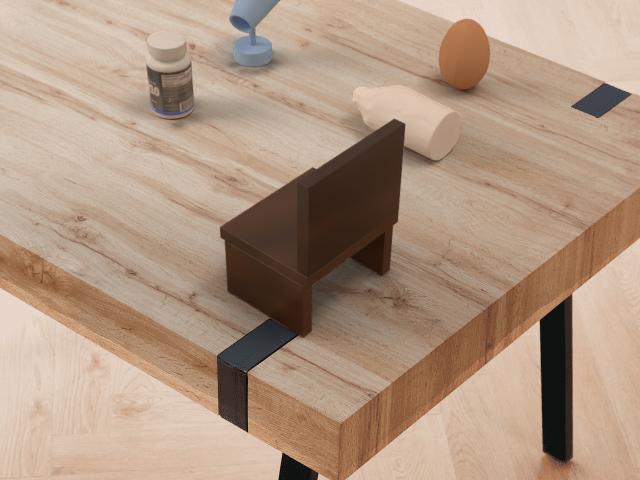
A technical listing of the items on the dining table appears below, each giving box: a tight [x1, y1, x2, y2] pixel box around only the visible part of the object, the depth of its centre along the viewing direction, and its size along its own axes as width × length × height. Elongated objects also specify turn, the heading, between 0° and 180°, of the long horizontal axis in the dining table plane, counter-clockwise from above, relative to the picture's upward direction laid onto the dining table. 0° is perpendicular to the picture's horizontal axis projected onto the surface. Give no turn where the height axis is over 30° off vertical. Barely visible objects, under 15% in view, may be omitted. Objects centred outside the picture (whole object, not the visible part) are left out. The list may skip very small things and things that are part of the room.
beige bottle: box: [352, 84, 463, 161], centre depth 113 cm, size 6×12×6 cm, turn 51°
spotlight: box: [228, 0, 281, 68], centre depth 123 cm, size 5×10×7 cm
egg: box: [438, 18, 491, 90], centre depth 121 cm, size 6×6×8 cm
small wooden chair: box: [219, 119, 406, 338], centre depth 92 cm, size 10×12×16 cm
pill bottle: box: [145, 29, 195, 120], centre depth 114 cm, size 5×5×8 cm
